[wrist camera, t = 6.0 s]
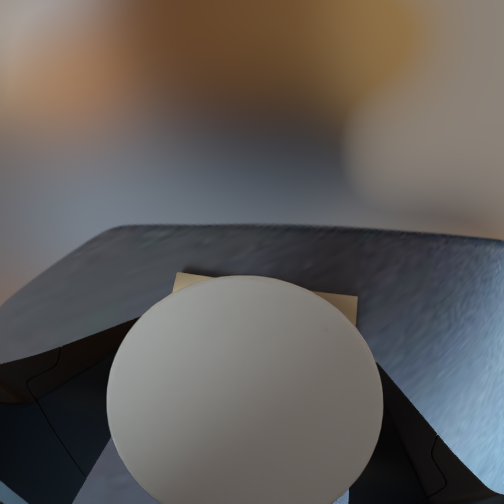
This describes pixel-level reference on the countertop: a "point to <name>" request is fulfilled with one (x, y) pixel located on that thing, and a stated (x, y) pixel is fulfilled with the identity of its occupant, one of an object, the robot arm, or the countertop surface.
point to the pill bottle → (244, 396)
